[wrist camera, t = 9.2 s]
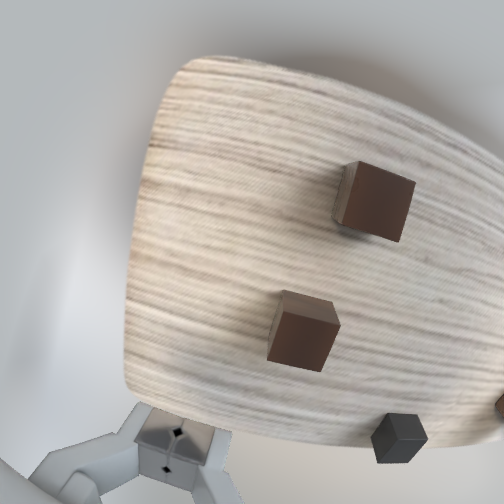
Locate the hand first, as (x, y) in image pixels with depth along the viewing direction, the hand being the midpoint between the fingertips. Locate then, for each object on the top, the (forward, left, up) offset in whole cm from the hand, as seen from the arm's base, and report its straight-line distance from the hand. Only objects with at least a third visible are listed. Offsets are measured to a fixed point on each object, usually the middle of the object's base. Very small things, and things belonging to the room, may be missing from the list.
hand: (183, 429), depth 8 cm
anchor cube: (+23, +1, -15) cm, 28 cm away
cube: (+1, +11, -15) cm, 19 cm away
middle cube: (+5, +1, -15) cm, 16 cm away
